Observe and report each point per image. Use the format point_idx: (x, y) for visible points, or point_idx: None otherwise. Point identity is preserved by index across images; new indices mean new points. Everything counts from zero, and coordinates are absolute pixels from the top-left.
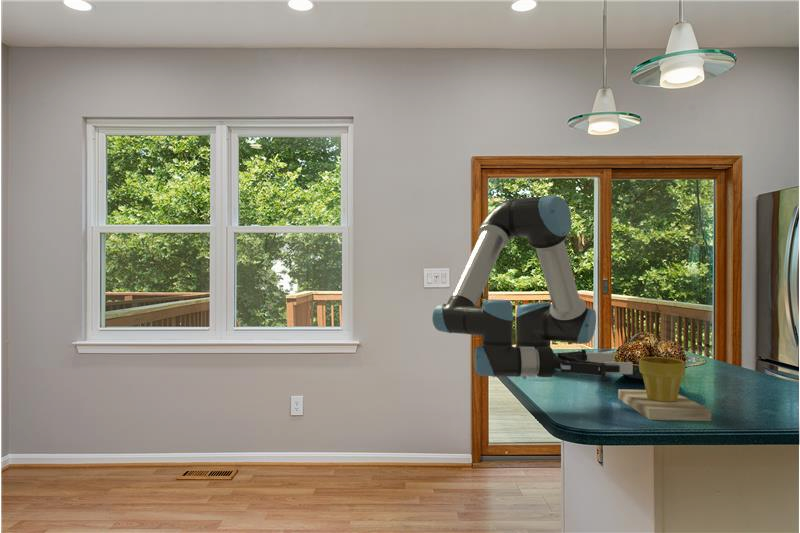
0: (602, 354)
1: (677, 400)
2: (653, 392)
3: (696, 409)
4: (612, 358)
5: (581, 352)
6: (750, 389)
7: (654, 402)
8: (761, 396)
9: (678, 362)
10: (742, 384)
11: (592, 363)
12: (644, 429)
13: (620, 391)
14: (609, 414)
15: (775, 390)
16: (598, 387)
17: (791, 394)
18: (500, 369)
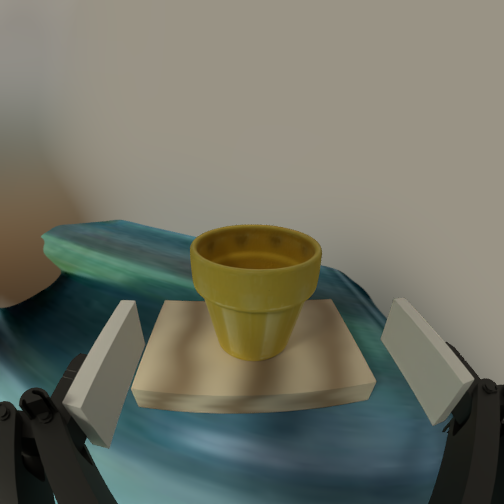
0: (118, 341)
1: None
2: (281, 341)
3: (336, 313)
4: (139, 324)
5: (14, 407)
6: (134, 240)
7: (298, 360)
8: (167, 243)
9: (244, 232)
10: (111, 238)
11: (496, 436)
12: None
13: (149, 392)
14: (351, 482)
15: (145, 231)
16: (24, 385)
17: (164, 230)
18: None
